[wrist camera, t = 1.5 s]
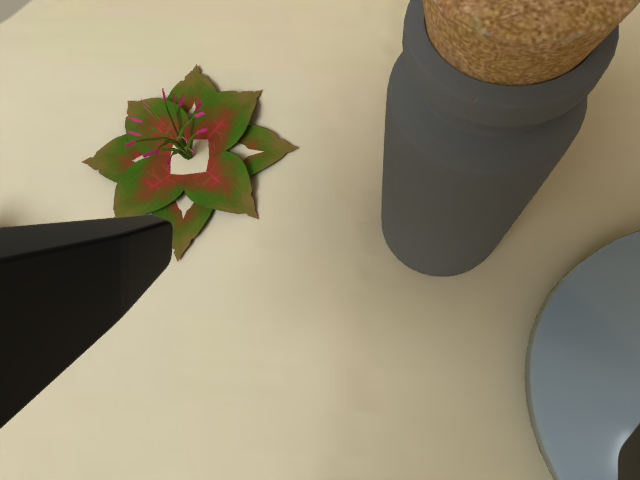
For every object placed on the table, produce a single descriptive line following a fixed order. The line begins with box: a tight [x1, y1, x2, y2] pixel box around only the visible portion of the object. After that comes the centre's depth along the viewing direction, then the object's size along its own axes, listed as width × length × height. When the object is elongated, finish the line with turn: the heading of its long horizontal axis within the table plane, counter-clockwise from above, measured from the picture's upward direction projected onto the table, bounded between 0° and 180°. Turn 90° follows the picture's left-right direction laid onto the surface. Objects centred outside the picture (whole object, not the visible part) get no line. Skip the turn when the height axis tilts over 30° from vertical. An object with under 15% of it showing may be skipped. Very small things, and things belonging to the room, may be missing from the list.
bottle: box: [381, 0, 640, 276], centre depth 17 cm, size 6×6×15 cm
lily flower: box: [82, 65, 298, 261], centre depth 25 cm, size 12×12×5 cm
